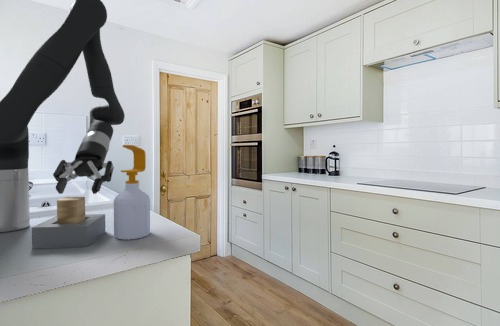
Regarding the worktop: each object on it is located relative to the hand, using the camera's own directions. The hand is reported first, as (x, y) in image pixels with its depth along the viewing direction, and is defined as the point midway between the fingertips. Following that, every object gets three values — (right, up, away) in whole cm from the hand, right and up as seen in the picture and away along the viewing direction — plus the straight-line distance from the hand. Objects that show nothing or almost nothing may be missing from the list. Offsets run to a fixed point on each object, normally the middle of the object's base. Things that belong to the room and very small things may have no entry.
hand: (76, 192), depth 74 cm
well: (0, -12, -3) cm, 12 cm away
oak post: (0, -11, -3) cm, 11 cm away
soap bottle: (+14, -12, +2) cm, 19 cm away
